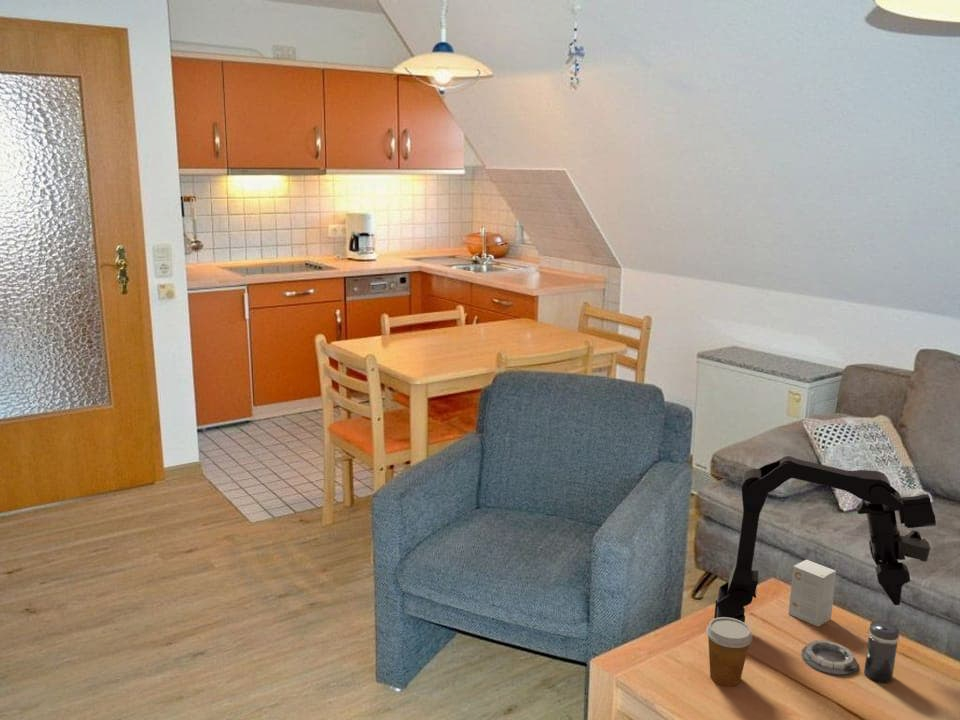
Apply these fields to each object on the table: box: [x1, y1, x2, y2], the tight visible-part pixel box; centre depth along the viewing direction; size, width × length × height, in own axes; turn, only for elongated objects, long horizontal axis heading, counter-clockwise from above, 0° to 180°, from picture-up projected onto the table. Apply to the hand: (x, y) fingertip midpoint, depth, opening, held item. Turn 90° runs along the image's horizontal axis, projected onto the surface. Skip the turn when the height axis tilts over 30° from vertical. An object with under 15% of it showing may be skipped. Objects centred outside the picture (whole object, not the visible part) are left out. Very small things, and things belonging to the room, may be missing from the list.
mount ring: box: [800, 639, 858, 676], centre depth 189 cm, size 12×12×2 cm
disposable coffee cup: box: [705, 617, 754, 687], centre depth 180 cm, size 10×10×12 cm
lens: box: [863, 620, 900, 684], centre depth 182 cm, size 6×6×12 cm
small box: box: [788, 559, 837, 628], centre depth 206 cm, size 8×6×13 cm
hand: (894, 595), depth 187 cm, fingers open, 9 cm apart
